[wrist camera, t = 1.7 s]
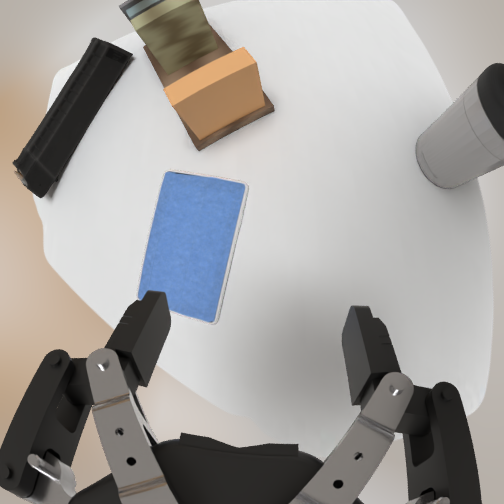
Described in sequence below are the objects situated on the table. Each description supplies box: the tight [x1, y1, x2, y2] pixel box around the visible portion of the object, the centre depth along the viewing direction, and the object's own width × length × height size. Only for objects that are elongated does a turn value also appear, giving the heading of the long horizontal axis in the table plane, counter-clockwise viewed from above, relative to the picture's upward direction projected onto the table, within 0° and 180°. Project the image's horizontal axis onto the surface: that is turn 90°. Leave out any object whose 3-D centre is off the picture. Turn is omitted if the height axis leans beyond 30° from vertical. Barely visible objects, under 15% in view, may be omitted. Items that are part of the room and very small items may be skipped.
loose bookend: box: [163, 47, 265, 140], centre depth 30 cm, size 10×3×10 cm, turn 118°
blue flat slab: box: [137, 169, 249, 325], centre depth 37 cm, size 19×13×1 cm, turn 167°
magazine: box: [13, 38, 133, 198], centre depth 35 cm, size 17×3×30 cm
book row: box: [119, 0, 274, 151], centre depth 31 cm, size 12×26×14 cm, turn 28°
